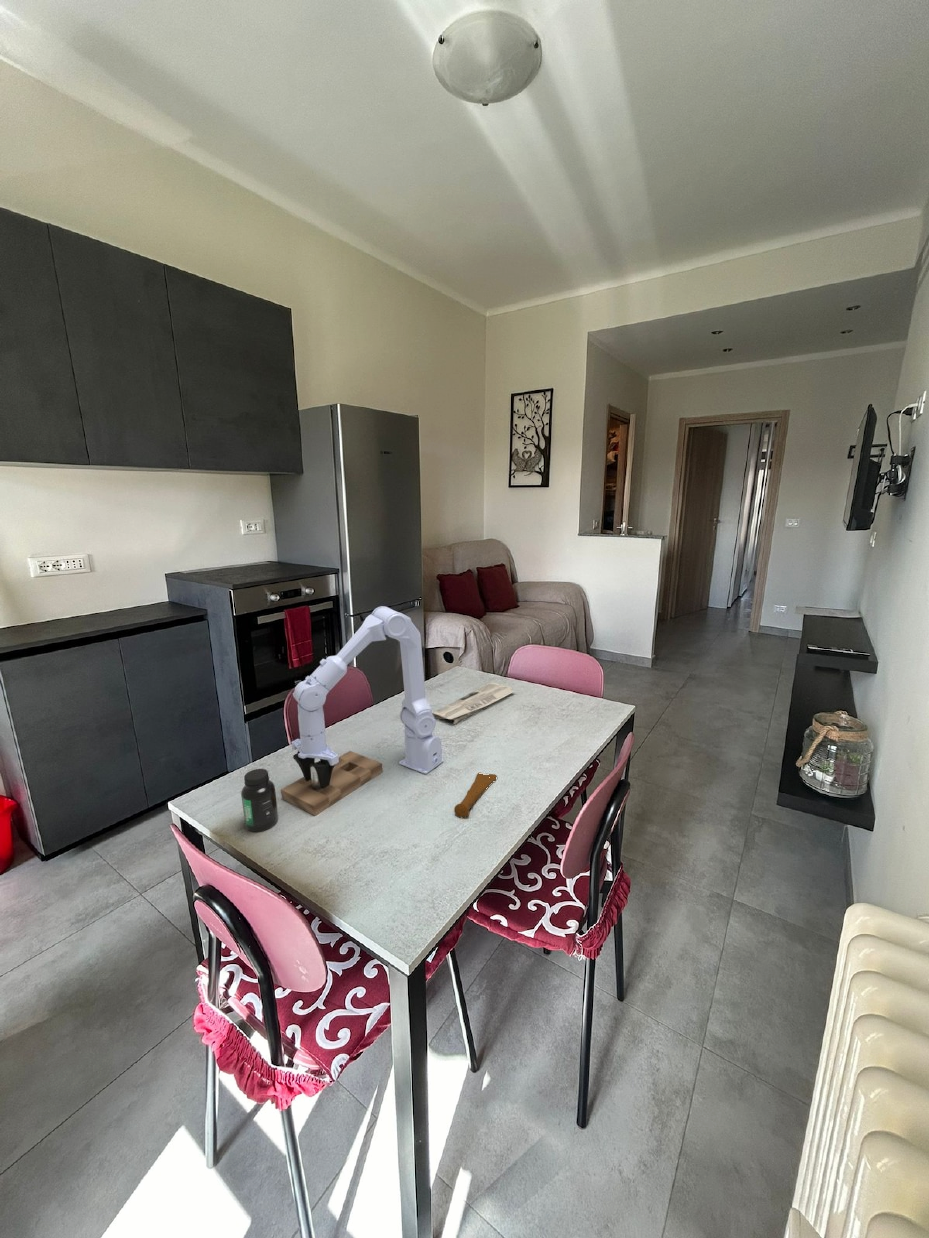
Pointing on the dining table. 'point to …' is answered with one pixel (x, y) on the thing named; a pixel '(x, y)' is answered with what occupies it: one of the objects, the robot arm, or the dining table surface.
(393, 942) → the dining table surface
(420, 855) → the dining table surface
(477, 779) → the primitive tool
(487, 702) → the newspaper
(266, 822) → the supplement bottle
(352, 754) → the tool stand
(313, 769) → the steel peg
